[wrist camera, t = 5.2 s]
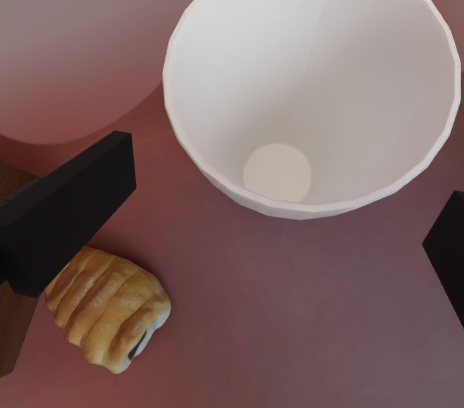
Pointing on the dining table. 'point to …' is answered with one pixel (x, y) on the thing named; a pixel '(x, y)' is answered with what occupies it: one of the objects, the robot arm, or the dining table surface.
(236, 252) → the dining table surface
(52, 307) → the pastry
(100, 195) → the robot arm
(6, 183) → the stove stand
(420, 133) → the cup
